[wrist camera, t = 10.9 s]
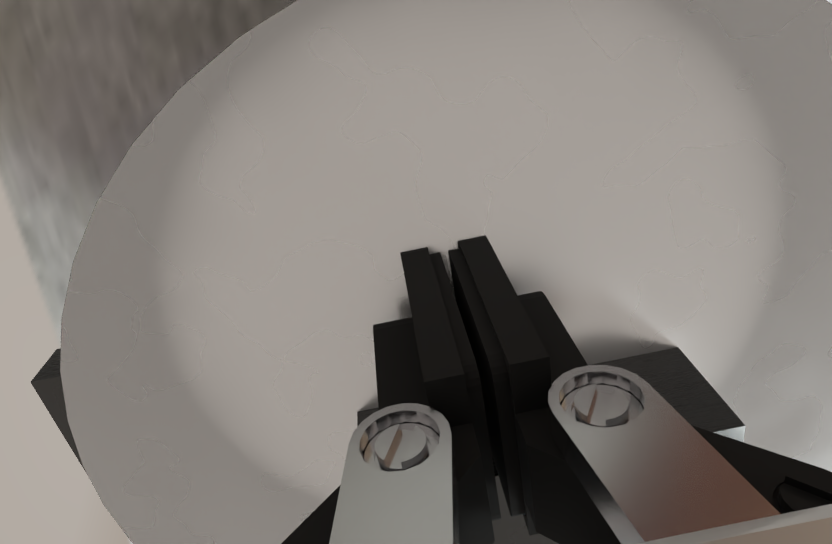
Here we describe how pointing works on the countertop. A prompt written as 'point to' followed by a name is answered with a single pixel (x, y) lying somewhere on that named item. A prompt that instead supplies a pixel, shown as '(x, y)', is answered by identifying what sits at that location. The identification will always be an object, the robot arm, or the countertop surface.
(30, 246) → the countertop surface
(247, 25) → the countertop surface
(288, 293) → the cooker lid
